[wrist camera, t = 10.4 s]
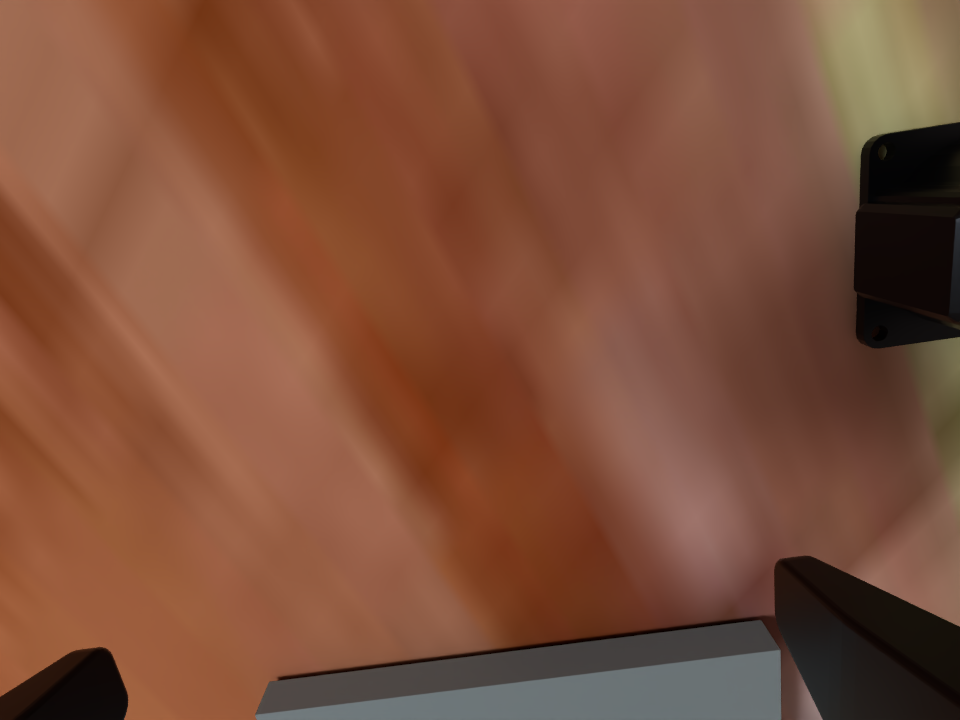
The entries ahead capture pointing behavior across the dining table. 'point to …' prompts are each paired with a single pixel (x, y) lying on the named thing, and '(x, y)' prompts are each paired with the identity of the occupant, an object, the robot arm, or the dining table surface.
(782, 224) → the dining table surface
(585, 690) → the board
